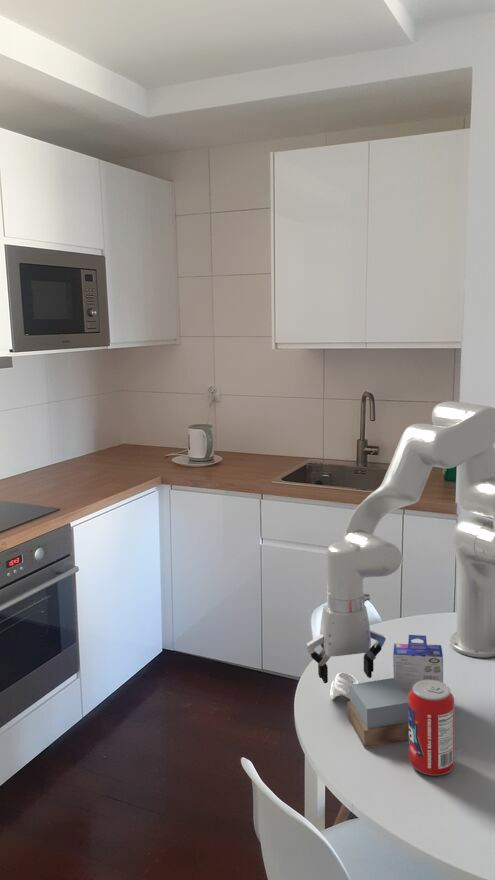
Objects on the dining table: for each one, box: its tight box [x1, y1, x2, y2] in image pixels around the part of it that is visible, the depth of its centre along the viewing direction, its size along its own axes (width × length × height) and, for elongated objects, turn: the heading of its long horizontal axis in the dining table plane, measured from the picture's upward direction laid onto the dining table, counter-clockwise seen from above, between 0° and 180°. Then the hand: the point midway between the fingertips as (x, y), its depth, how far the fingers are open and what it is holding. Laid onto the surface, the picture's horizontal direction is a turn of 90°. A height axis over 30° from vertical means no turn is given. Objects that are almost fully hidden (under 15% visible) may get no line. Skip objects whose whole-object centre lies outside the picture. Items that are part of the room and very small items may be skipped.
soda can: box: [408, 679, 455, 776], centre depth 124 cm, size 8×8×15 cm
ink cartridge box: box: [392, 634, 444, 696], centre depth 143 cm, size 10×6×14 cm, turn 78°
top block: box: [350, 677, 409, 729], centre depth 135 cm, size 9×9×4 cm
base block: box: [347, 701, 409, 749], centre depth 136 cm, size 10×10×4 cm
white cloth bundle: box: [329, 672, 360, 701], centre depth 149 cm, size 8×7×5 cm
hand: (345, 677), depth 149 cm, fingers open, 9 cm apart
